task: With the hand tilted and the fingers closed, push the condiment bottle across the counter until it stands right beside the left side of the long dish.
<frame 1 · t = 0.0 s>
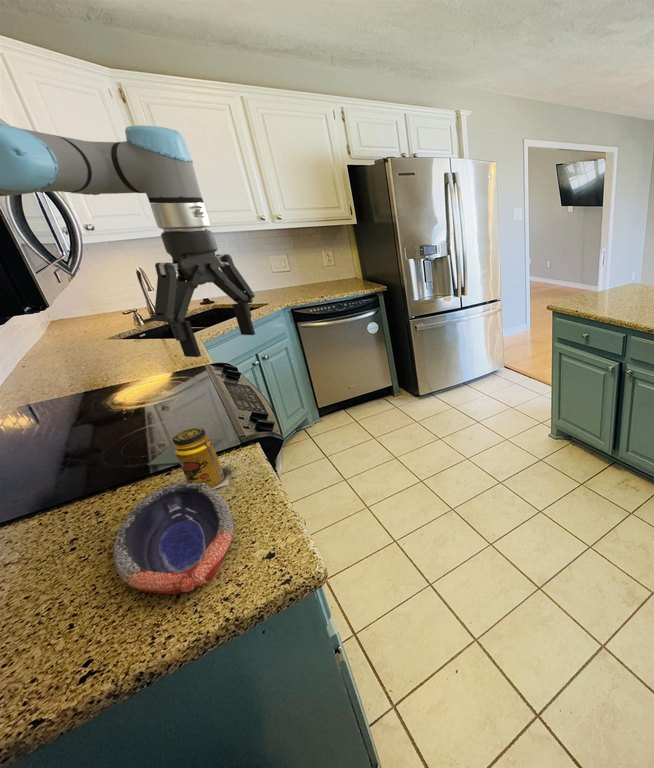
hand: (222, 344, 80), 28 cm above the countertop, tool pointing down, fingers open, 13 cm apart
condiment: (209, 481, 86), on the countertop
dish: (183, 548, 69), on the countertop
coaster: (185, 452, 96), on the countertop
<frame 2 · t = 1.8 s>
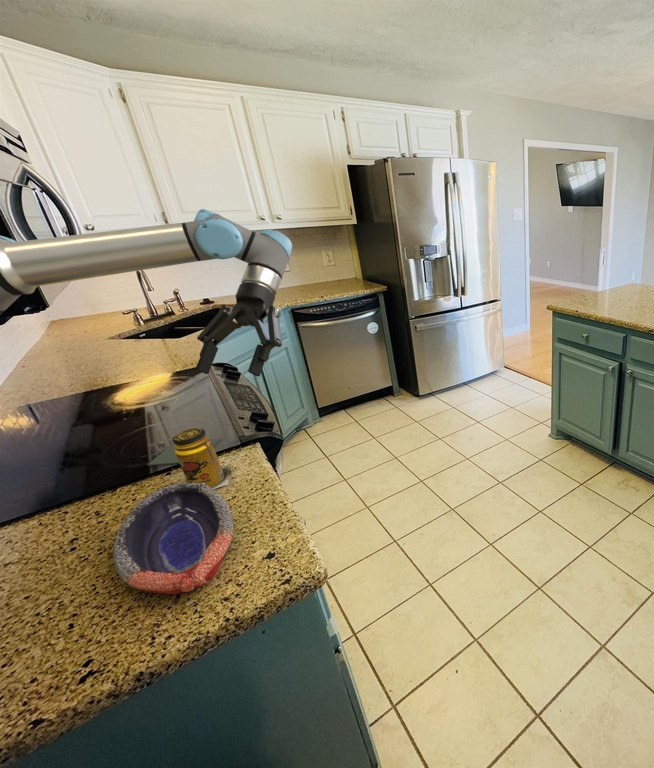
hand: (227, 373, 89), 20 cm above the countertop, tool tilted 45°, fingers open, 12 cm apart
nothing on the countertop moved.
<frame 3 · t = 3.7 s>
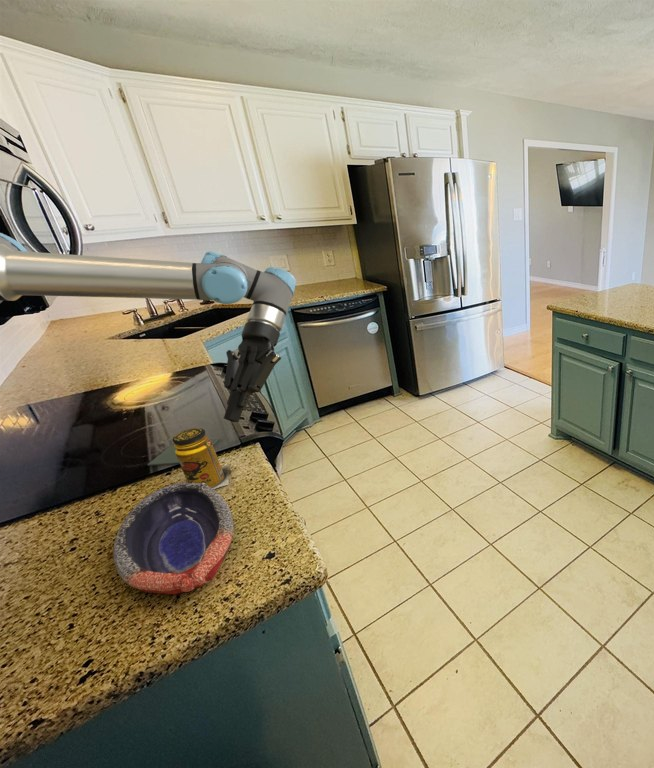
hand: (231, 420, 91), 9 cm above the countertop, tool tilted 45°, fingers closed
nothing on the countertop moved.
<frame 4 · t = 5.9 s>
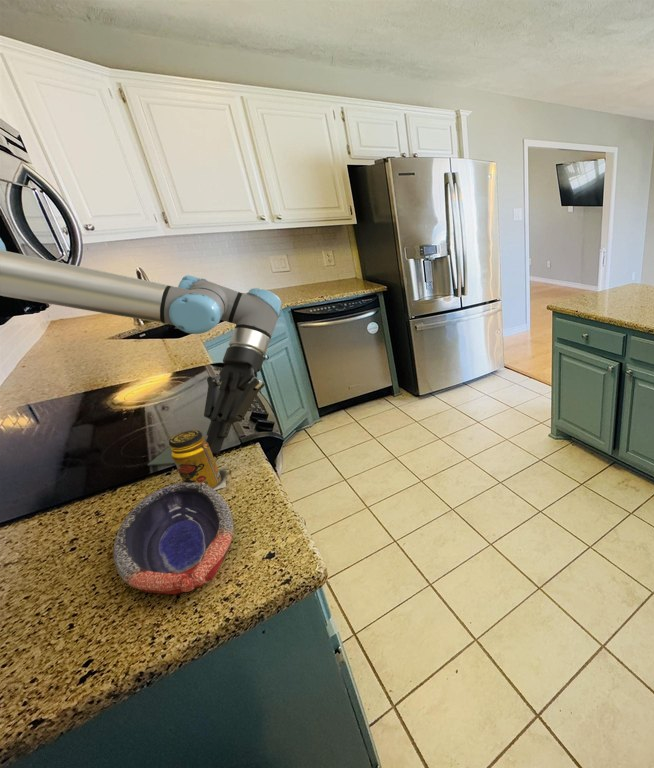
hand: (211, 452, 86), 6 cm above the countertop, tool tilted 45°, fingers closed
condiment: (206, 483, 85), on the countertop, touching gripper
everything else where it was.
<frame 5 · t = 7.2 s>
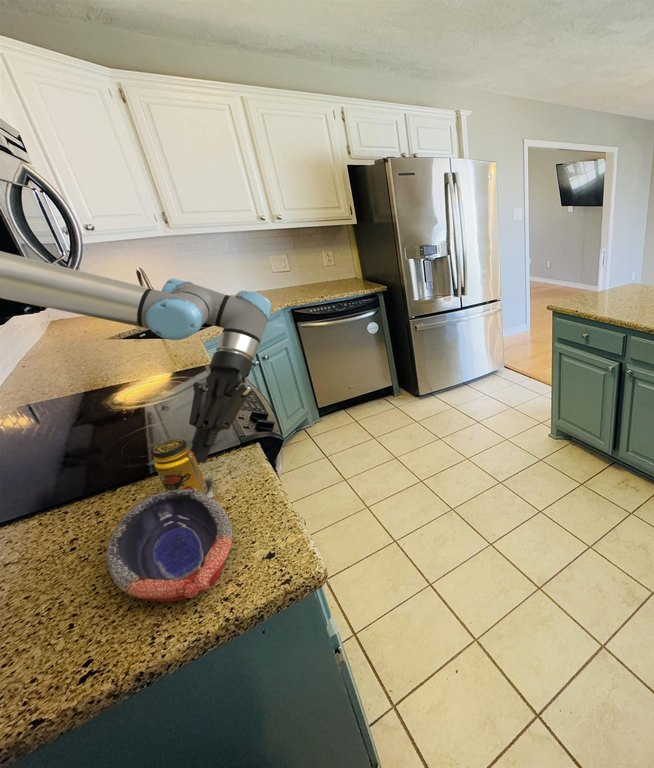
hand: (196, 461, 83), 6 cm above the countertop, tool tilted 45°, fingers closed
condiment: (191, 494, 82), on the countertop, touching dish, gripper
dish: (179, 555, 68), on the countertop, touching condiment
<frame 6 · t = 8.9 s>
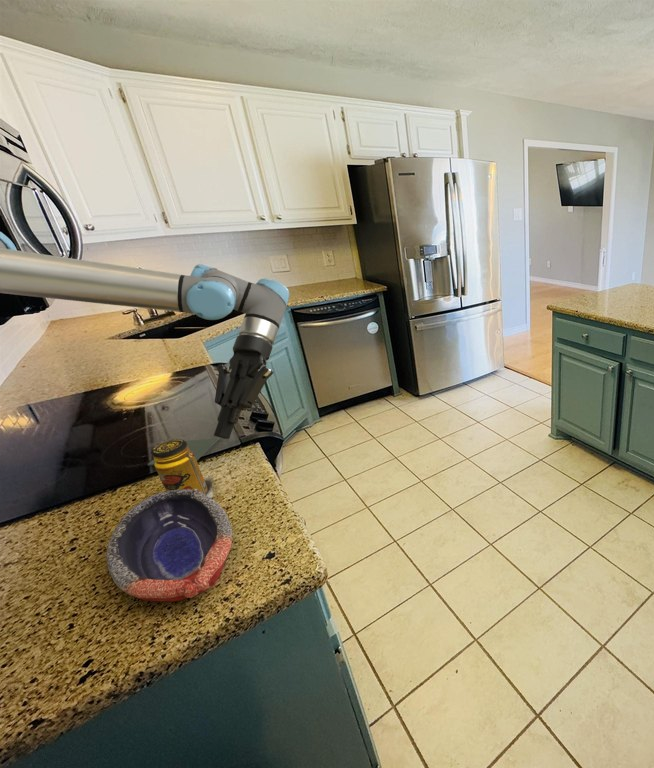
hand: (221, 437, 89), 7 cm above the countertop, tool tilted 45°, fingers closed
condiment: (191, 494, 82), on the countertop
dish: (179, 555, 68), on the countertop
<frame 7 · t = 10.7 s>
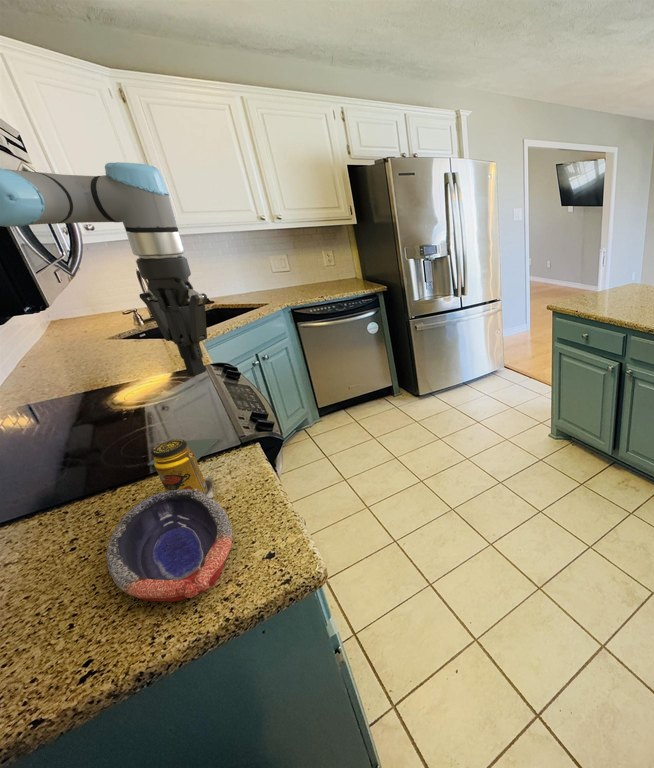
hand: (197, 373, 85), 21 cm above the countertop, tool pointing down, fingers closed
condiment: (191, 494, 82), on the countertop, touching dish
dish: (179, 555, 68), on the countertop, touching condiment
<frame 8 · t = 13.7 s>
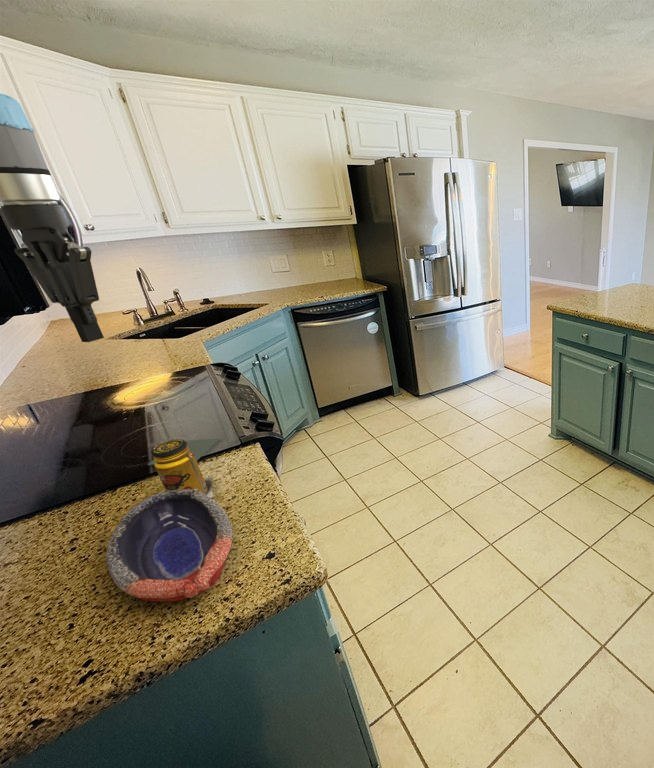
hand: (93, 339, 77), 30 cm above the countertop, tool pointing down, fingers closed
condiment: (191, 494, 82), on the countertop
dish: (179, 555, 68), on the countertop
at the end: condiment inside the target area (0.7 cm from its centre), on the countertop; condiment tilted 0°; dish moved 1.7 cm from its start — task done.
